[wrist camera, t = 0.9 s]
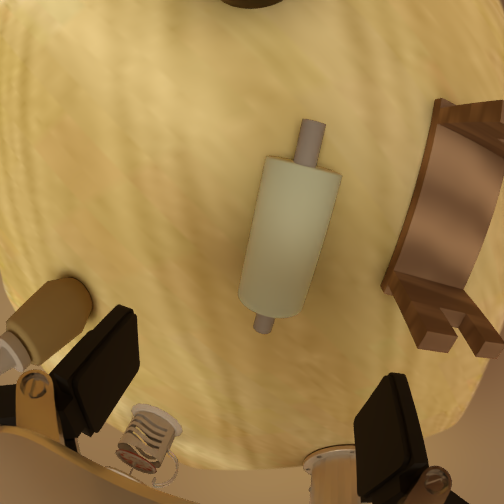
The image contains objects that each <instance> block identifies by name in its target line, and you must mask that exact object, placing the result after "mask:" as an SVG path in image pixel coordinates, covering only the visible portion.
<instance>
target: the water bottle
mask: <svg viewBox="0 0 504 504" xmlns="http://www.w3.org/2000/svg"><path fill="white" fill-rule="evenodd" d="M221 1H223V2H224V3H226V4H229V5H231V6H235V7H239V8H262V7H267V6H270V5H273V4H276V3H278V2H280V1H282V0H221Z"/></svg>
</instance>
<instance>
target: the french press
mask: <svg viewBox="0 0 504 504" xmlns="http://www.w3.org/2000/svg"><path fill="white" fill-rule="evenodd" d="M131 411H132V413H133V416H134V417H133V418H132V420H131V422H130V424H129V425H128V427H127V429H126V431H125V432H124V434H123V436H122V438H121V440H120V441H119V443H118V448H119V449H120V450H117V451H116V455H117V456H118V458H119V459H121V460H122V461H123V462H124V463H126V464H128V465H129V466H131V467H133V468H134V469H136V470H138V471H141V472H144V473H148V474H154V473H156V472H157V471H156V468H159V467H160V466H161V464H162V461H163V459H164V457H165V455H166V452H167V453H168V454H169V451H170V450H169V449H170V447H171V444H172V442H173V440H174V437H175V436H179V435H180V434H181V433H182V427H181V425H180V424H179V423H178V421H177V420H176V419H175V418H173V417H172V416H171V415H169V414H168V413H167V412H165V411H163V410H161V409H159V408H157V407H154V406H151V405H147V404H136V405H134V406H133V407H132V410H131ZM136 426H137V427H139V428H140V429H141V430H142V431H143V432H144V433H145V434H146V436H147V437H148V438H149V439H148V438H147V437H146V436H144V435H143V434H142V433H141V432H140V431H139V430H137V429H136V428H135V427H136ZM133 431H134V432H136V433H137V434H138V435H139V436H140V437H141V438H142V439H143V440H144V441H145V442H146V443H147V445H148V446H147V445H145V444H144V443H142V441H141V440H140V439H139V438H138V437H137V436H136V435H135V434H133V433H132V432H133ZM127 443H128V444H131V445H134V446H135V447H136V448H137V449H138V451H139V452H140V453H141V454H142V455H143V456H145V457H146V458H148V459H157V460H158V461H156V462H149V461H147V460H146V459H144V458H143V457H141V456H139V455H138V454H137V452H136V451H134V449H133V448H132V447H131V446H130V445H128V444H127ZM149 446H150V447H149ZM151 447H152V448H151ZM141 449H143V450H144V451H146V452H148V453H150V454H151V455H152V456H149V455H147V454H145V453H144V452H143V451H142V450H141ZM170 452H171V451H170ZM171 453H172V452H171ZM172 454H173V453H172ZM169 455H170V454H169ZM173 455H174V454H173ZM170 456H171V455H170ZM171 457H172V456H171ZM174 457H175V459H176V460H175V459H174V458H173V457H172V458H173V460H174V461H175V463H176V472H175V474H174V476H173V477H172V478H171V479H170V480H169V481H167V482H164V483H158V484H155V481H156V478H155V477H154V479H153V481H152V483H153V484H152V485H153V486H154V484H155V485H163V484H166V483H168V482H169V483H168V484H166V485H163V486H154V487H165V486H168V485H169V484H171V483H172V482H173V481H174V479H175V478H176V476H177V472H178V459H177V458H176V456H175V455H174ZM105 468H108V469H110V470H112V471H114V472H116V473H118V474H120V475H123V476H125V477H127V478H129V479H132V480H134V481H136V482H139V483H141V484H144V483H143V482H141V481H140V480H138V479H136V478H135V477H133V476H131V473H132V471H133V468H132V470H131V472H130V474H127V473H125V472H123V471H121V470H118V469H116V468H113V467H110V466H105ZM171 480H172V481H171ZM170 481H171V482H170ZM144 485H145V484H144ZM146 486H147V485H146Z"/></svg>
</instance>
